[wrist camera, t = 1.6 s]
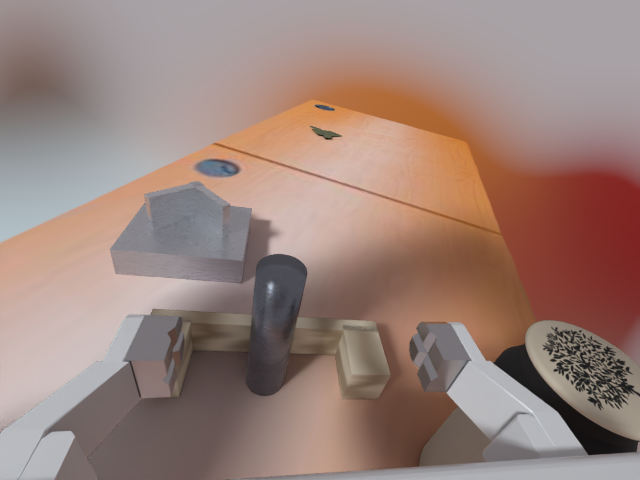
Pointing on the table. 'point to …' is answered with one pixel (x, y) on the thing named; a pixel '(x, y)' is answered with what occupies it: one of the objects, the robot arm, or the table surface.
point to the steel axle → (273, 321)
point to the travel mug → (558, 394)
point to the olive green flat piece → (325, 132)
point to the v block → (185, 237)
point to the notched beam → (294, 346)
